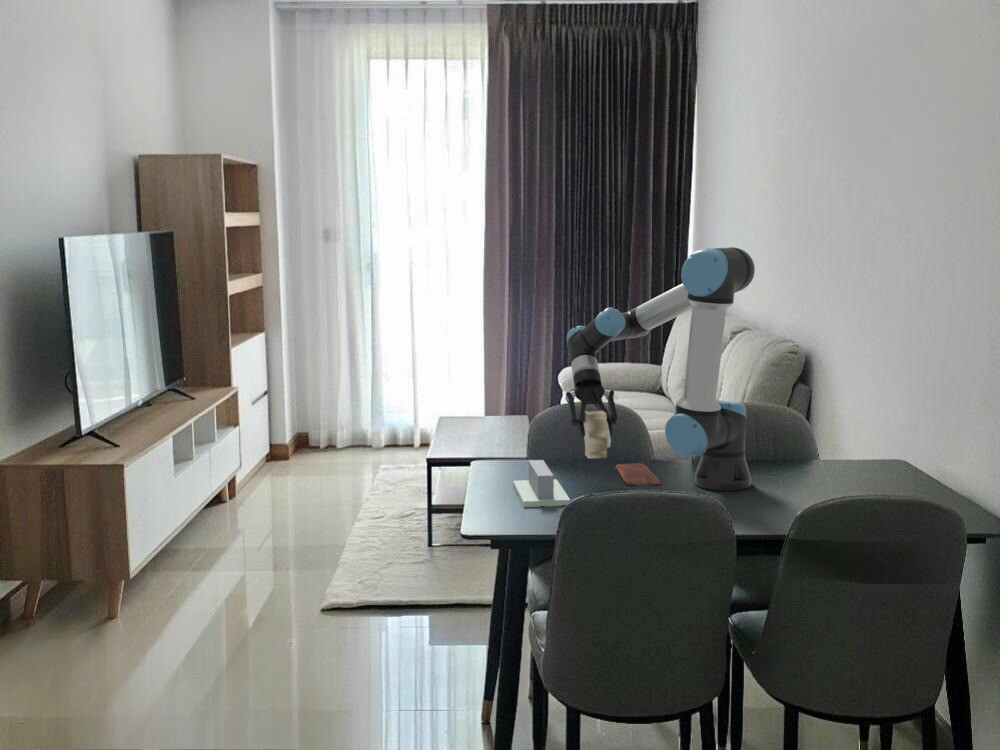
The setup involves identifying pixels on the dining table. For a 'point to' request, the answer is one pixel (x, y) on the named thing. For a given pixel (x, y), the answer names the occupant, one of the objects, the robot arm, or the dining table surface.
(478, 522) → the dining table surface
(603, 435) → the birch block
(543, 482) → the ridge stand
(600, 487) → the dining table surface
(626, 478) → the wooden tablet
